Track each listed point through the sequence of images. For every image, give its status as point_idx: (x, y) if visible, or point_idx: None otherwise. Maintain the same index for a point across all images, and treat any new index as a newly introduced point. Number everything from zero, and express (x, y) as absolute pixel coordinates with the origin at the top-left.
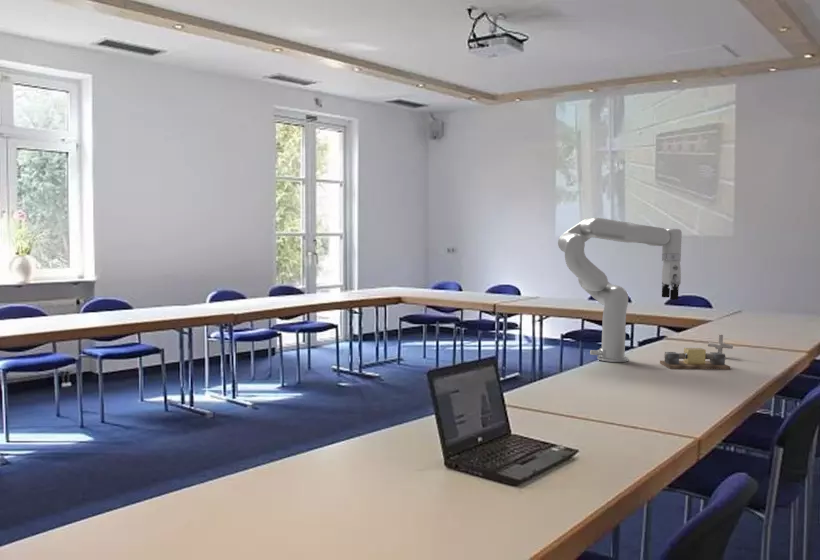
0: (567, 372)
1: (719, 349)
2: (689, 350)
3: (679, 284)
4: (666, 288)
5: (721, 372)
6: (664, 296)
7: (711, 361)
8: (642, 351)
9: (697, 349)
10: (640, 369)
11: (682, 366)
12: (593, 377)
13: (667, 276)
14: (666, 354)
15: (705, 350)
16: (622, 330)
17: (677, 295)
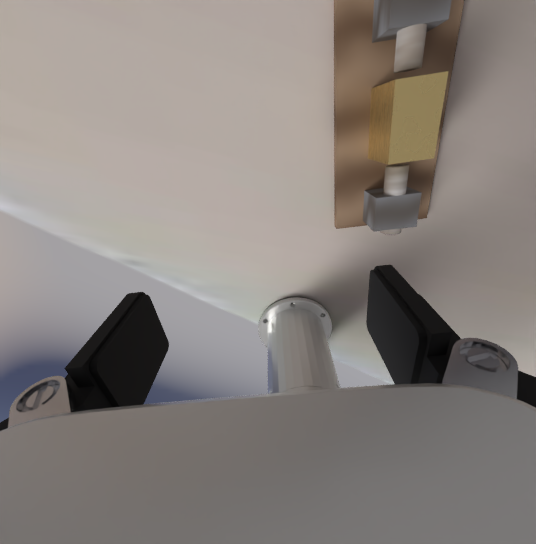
0: None
1: None
2: (433, 153)
3: (502, 401)
4: (115, 396)
5: (510, 42)
6: (163, 336)
7: (391, 37)
8: (121, 232)
9: (434, 113)
10: (420, 289)
11: (432, 180)
12: None
13: None
14: (400, 231)
15: (446, 72)
16: (335, 377)
17: (407, 292)
